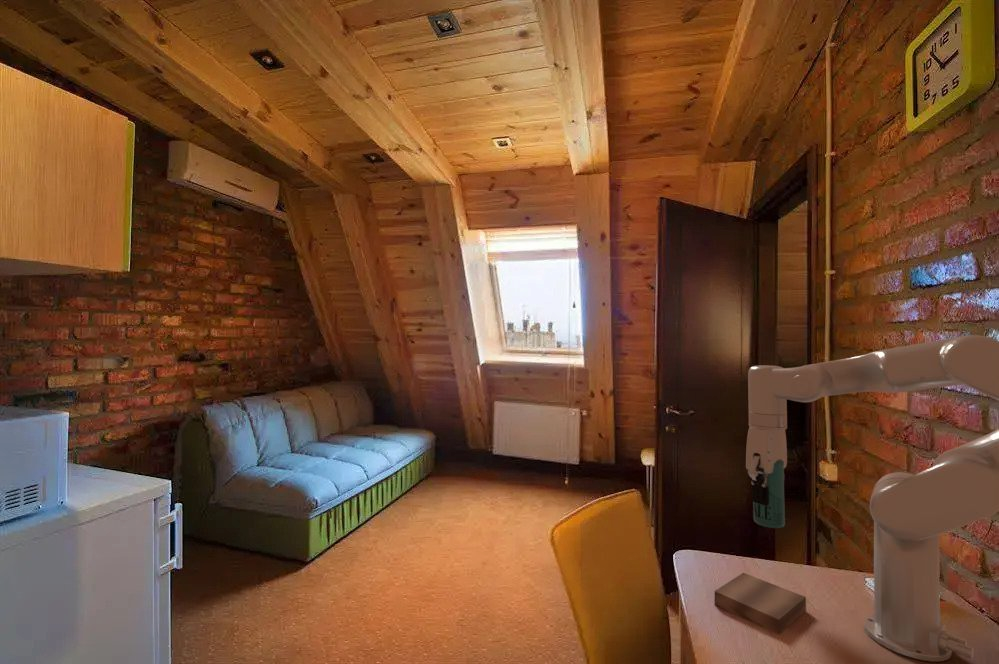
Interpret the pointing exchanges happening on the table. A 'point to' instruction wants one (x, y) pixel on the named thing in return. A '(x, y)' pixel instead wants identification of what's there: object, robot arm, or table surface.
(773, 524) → the beverage bottle
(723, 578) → the table surface
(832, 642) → the table surface
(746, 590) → the walnut plinth
